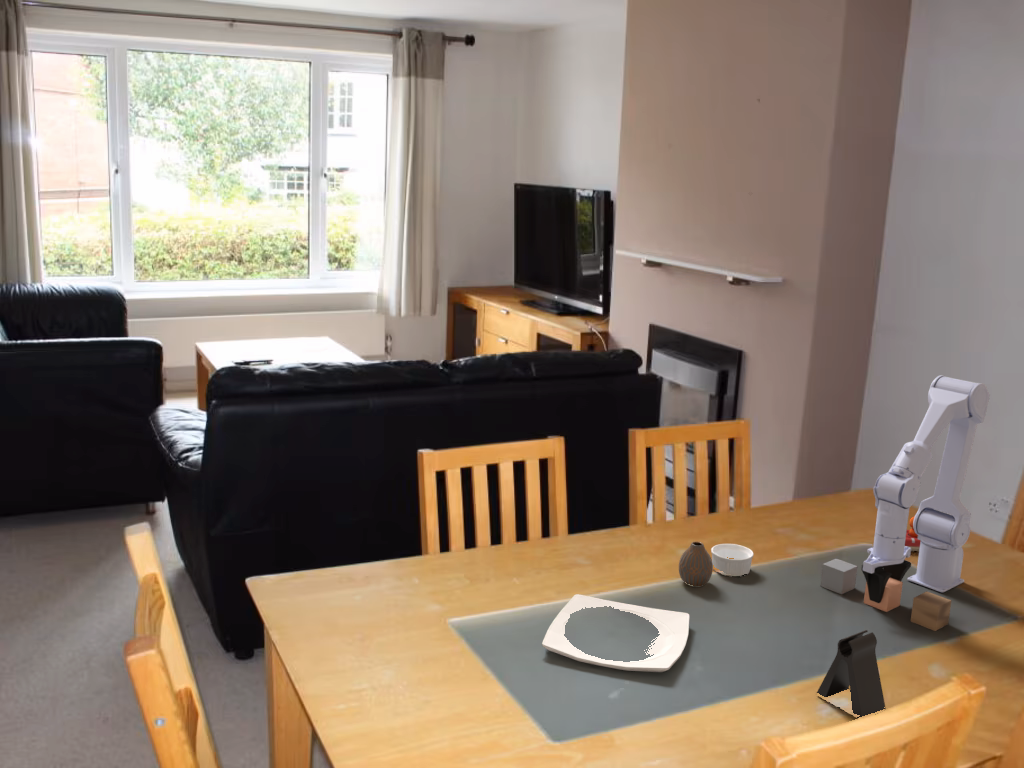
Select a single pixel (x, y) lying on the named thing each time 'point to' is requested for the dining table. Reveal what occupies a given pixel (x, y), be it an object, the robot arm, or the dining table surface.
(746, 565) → the ramekin
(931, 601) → the walnut block
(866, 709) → the phone stand
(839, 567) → the slate block
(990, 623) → the dining table surface
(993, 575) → the dining table surface
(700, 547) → the vase
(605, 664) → the plate
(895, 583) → the terracotta block
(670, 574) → the dining table surface
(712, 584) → the dining table surface
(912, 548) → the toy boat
